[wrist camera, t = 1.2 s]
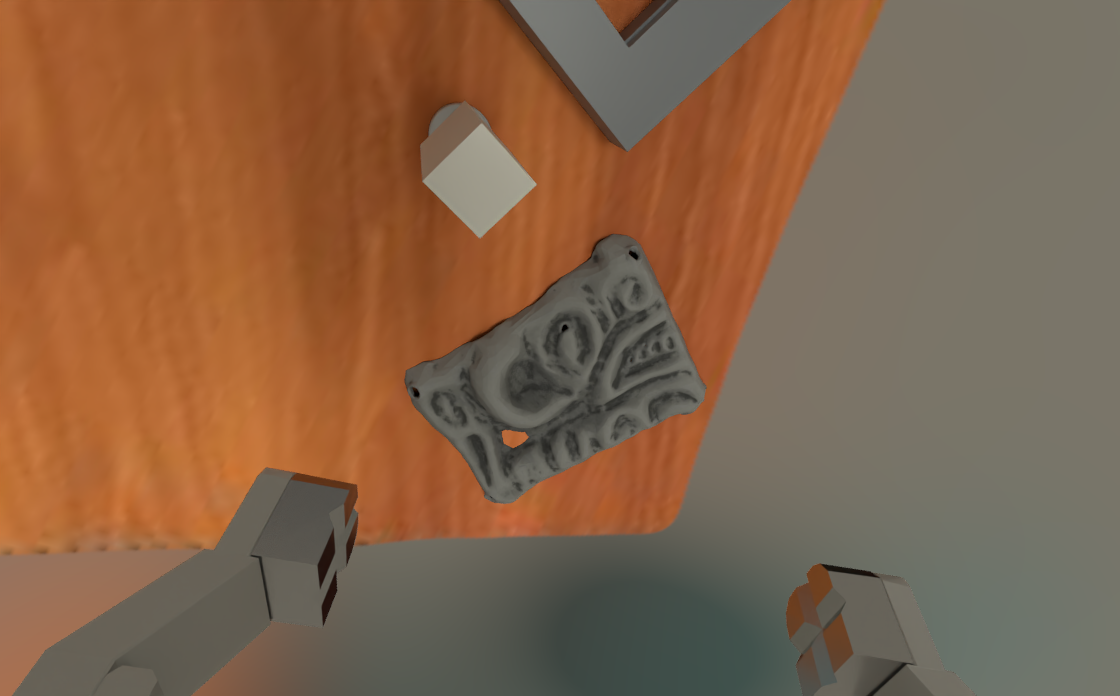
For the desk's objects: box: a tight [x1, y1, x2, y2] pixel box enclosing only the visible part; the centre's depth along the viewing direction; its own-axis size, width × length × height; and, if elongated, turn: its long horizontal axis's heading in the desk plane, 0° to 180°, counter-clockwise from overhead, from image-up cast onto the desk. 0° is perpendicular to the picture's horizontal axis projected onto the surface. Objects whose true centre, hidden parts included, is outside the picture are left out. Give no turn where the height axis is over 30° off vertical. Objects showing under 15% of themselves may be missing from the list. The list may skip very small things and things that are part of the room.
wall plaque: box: [405, 234, 706, 504], centre depth 55 cm, size 24×19×4 cm
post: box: [420, 101, 537, 238], centre depth 38 cm, size 4×4×16 cm
